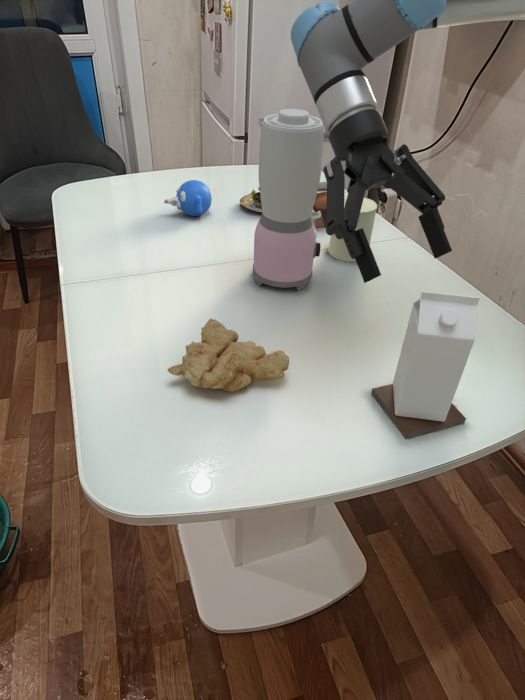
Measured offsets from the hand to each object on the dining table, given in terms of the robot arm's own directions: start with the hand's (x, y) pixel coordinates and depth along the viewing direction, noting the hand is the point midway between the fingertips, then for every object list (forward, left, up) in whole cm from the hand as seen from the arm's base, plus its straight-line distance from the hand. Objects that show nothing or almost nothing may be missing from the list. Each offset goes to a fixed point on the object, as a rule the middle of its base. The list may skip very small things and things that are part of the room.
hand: (409, 266), depth 70 cm
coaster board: (-5, +6, -20) cm, 22 cm away
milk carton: (-5, +6, -19) cm, 21 cm away
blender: (+20, -27, -20) cm, 40 cm away
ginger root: (+25, +6, -20) cm, 33 cm away
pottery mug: (+17, -58, -20) cm, 64 cm away
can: (+9, -42, -20) cm, 48 cm away
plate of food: (+33, -61, -20) cm, 73 cm away
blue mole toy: (+50, -51, -20) cm, 75 cm away
